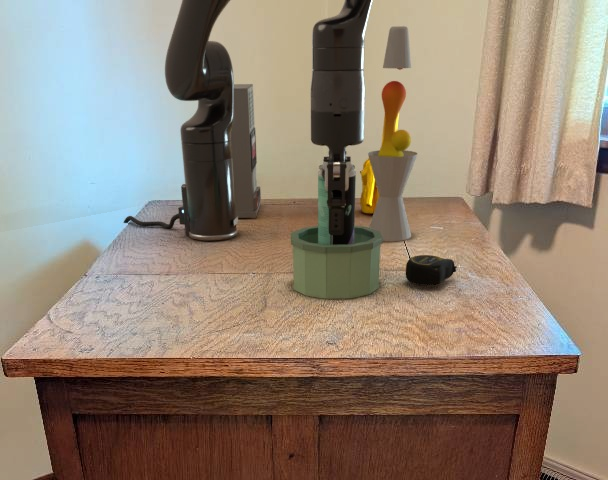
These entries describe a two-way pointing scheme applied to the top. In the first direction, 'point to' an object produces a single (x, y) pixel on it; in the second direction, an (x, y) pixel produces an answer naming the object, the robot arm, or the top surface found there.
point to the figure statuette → (370, 183)
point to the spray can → (324, 211)
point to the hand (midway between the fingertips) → (336, 228)
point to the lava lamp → (393, 148)
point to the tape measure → (429, 269)
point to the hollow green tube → (336, 264)
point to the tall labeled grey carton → (244, 153)
